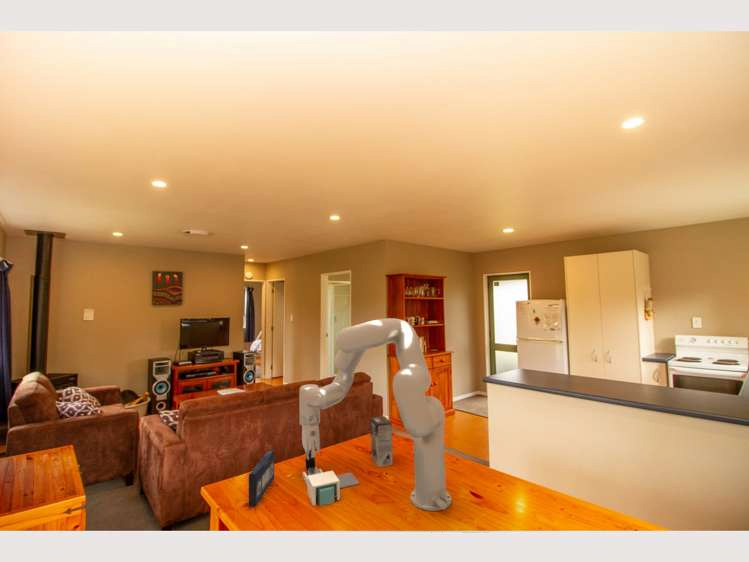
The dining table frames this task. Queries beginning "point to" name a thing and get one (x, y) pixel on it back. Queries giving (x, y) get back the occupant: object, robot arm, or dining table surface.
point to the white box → (321, 483)
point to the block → (325, 494)
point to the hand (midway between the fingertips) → (310, 469)
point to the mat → (347, 480)
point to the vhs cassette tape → (261, 478)
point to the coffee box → (381, 441)
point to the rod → (313, 472)
